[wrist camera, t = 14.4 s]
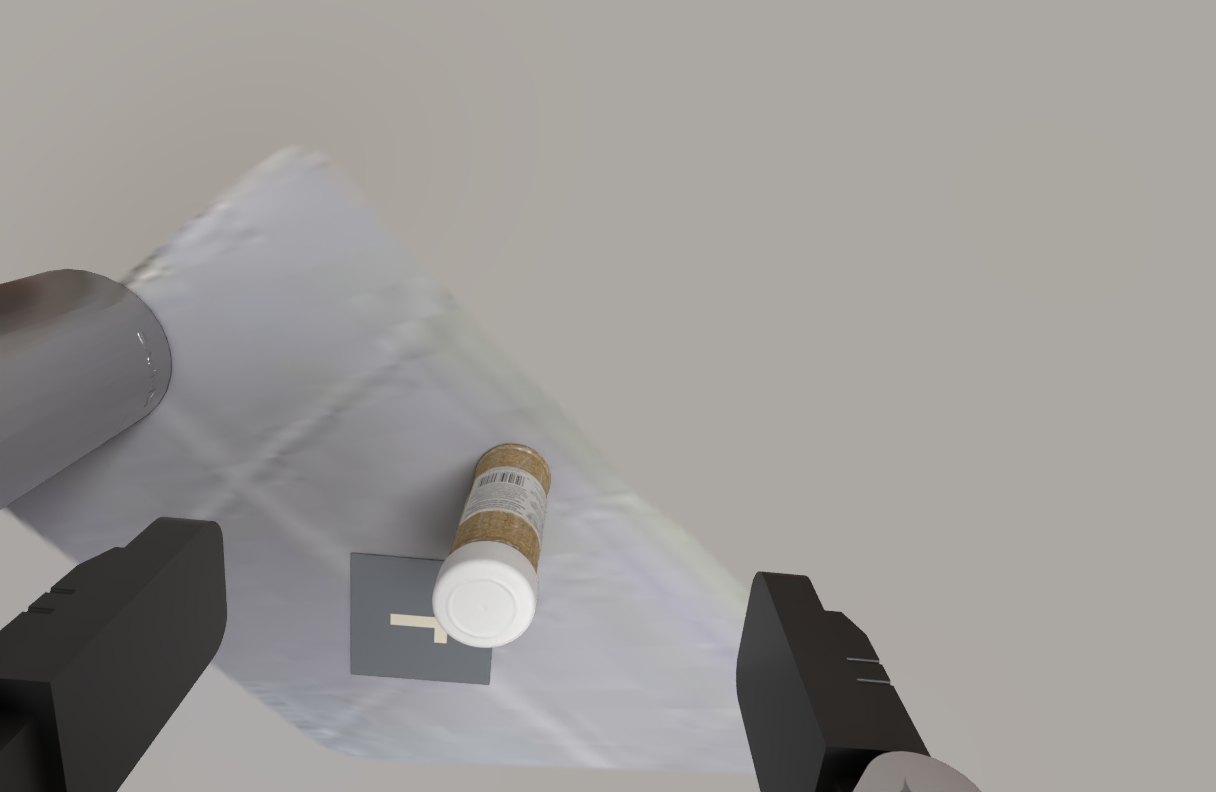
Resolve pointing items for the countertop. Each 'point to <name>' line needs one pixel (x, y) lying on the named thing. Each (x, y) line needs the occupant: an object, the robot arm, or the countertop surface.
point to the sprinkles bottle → (495, 551)
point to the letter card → (405, 624)
